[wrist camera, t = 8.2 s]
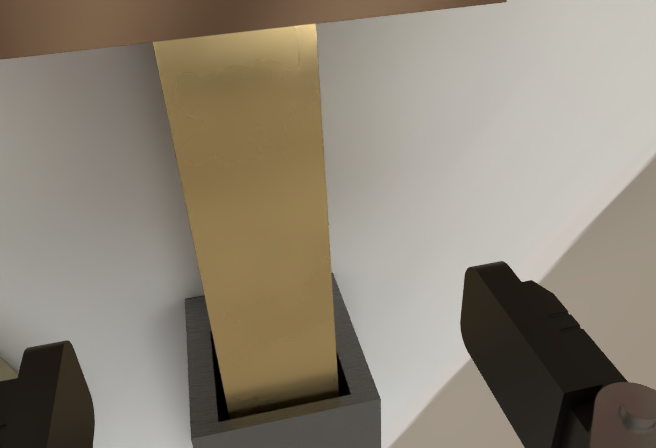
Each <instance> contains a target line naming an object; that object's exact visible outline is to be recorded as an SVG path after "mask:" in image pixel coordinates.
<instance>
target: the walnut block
mask: <svg viewBox="0 0 656 448" xmlns="http://www.w3.org/2000/svg"><path fill="white" fill-rule="evenodd" d="M506 1H507V0H0V59H9V58H18V57H27V56H35V55H44V54H53V53H62V52H71V51H79V50H88V49H97V48H106V47H115V46H123V45H132V44H141V43H150V42H159V41H167V40H176V39H185V38H194V37H203V36H211V35H220V34H229V33H238V32H247V31H255V30H264V29H273V28H282V27H291V26H299V25H308V24H317V23H326V22H335V21H344V20H352V19H361V18H370V17H379V16H388V15H396V14H405V13H414V12H423V11H432V10H440V9H449V8H458V7H467V6H476V5H484V4H493V3H502V2H506Z"/></svg>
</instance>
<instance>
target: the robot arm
mask: <svg viewBox="0 0 656 448" xmlns="http://www.w3.org/2000/svg"><path fill="white" fill-rule="evenodd" d="M460 325H461V333H462V338H463V341H464V344H465V347H466V349H467V351H468V353H469V354H470V356H471V358H472V359H473V361H474V363H475V364H476V366H477V368H478V370H479V371H480V373H481V374H482V376H483V378H484V380H485V381H486V383H487V385H488V386H489V388H490V390H491V391H492V393H493V395H494V396H495V398H496V400H497V402H498V403H499V405H500V407H501V408H502V410H503V412H504V413H505V415H506V417H507V418H508V420H509V422H510V423H511V425H512V427H513V428H514V430H515V432H516V433H517V435H518V437H519V438H520V440H521V442H522V444H523V445H524V447H525V448H656V390H654V389H651V388H649V387H647V386H644V385H641V384H636V383H629V382H628V381H627V380H626V379H625V378H624V377H623V376H622V374H621V373H620V372H619V371H618V370H617V369H616V367H615V366H614V365H613V364H612V363H611V361H610V360H609V359H608V358H607V357H606V356H605V354H604V353H603V352H602V351H601V350H600V348H599V347H598V346H597V345H596V344H595V342H594V341H593V340H592V339H591V338H590V336H589V335H588V334H587V333H586V332H585V331H584V329H581V328H580V325H579V324H578V322H577V321H576V320H575V319H574V318H573V316H572V315H569V314H568V311H567V309H566V308H565V307H564V306H563V305H562V303H561V302H560V301H559V300H558V299H557V298H556V296H555V295H554V294H553V293H551V292H550V291H548V290H546V289H545V288H543V287H542V286H540V285H538V284H537V283H535V282H534V281H532V280H530V281H525V282H521V281H520V279H519V278H518V277H517V276H516V274H515V273H514V272H513V271H512V269H511V268H510V267H509V266H508V265H507V264H506V263H505V262H503V261H500V262H495V263H489V264H484V265H479V266H473V267H469V268H468V269H467V270H466V273H465V280H464V290H463V300H462V310H461V321H460ZM94 426H95V420H94V408H93V402H92V398H91V394H90V392H89V389H88V386H87V383H86V381H85V378H84V375H83V373H82V370H81V367H80V364H79V362H78V359H77V356H76V354H75V351H74V348H73V346H72V344H71V343H70V341H62V342H57V343H51V344H46V345H41V346H35V347H30V348H27V349H26V350H25V351H24V354H23V357H22V362H21V366H20V370H19V374H18V378H15V379H10V380H4V381H0V448H93V437H94Z"/></svg>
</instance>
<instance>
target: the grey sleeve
mask: <svg viewBox="0 0 656 448" xmlns="http://www.w3.org/2000/svg"><path fill="white" fill-rule="evenodd" d="M331 276H332V292H333V308H334V324H335V340H336V357H337V373H338V389H339V397H337V398H332V399H327V400H322V401H318V402H313V403H308V404H303V405H298V406H294V407H289V408H284V409H279V410H274V411H270V412H265V413H260V414H255V415H250V416H246V417H241V418H236V419H231V420H230V417H229V412H228V407H227V402H226V398H225V393H224V388H223V383H222V378H221V373H220V368H219V363H218V359H217V354H216V349H215V344H214V339H213V334H212V329H211V324H210V320H209V315H208V310H207V305H206V300H205V296H202V297H196V298H191V299H185V310H186V332H187V355H188V378H189V401H190V424H191V440H192V444H193V448H381V399H380V396H379V394H378V391H377V388H376V386H375V383H374V380H373V378H372V375H371V372H370V370H369V367H368V365H367V362H366V359H365V357H364V354H363V351H362V349H361V346H360V343H359V341H358V338H357V336H356V333H355V330H354V328H353V325H352V322H351V320H350V317H349V314H348V312H347V309H346V307H345V304H344V301H343V299H342V296H341V293H340V291H339V288H338V285H337V283H336V280H335V277H334V275H333V273H332V274H331Z"/></svg>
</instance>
